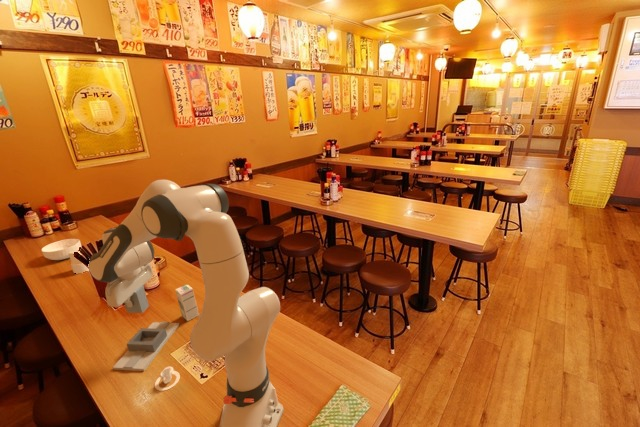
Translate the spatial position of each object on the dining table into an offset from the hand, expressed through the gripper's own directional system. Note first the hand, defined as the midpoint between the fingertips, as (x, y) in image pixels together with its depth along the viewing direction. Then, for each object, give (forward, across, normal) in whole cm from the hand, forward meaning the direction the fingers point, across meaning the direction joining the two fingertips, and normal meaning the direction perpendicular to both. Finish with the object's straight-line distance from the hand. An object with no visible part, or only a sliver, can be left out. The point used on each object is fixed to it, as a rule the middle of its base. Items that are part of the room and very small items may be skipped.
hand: (136, 301), depth 113 cm
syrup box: (+21, +18, -8) cm, 29 cm away
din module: (+4, 0, 0) cm, 4 cm away
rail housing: (+21, 0, 0) cm, 21 cm away
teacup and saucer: (+22, -13, -19) cm, 31 cm away
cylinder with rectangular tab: (+21, +56, +79) cm, 99 cm away
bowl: (+21, +73, +107) cm, 131 cm away
